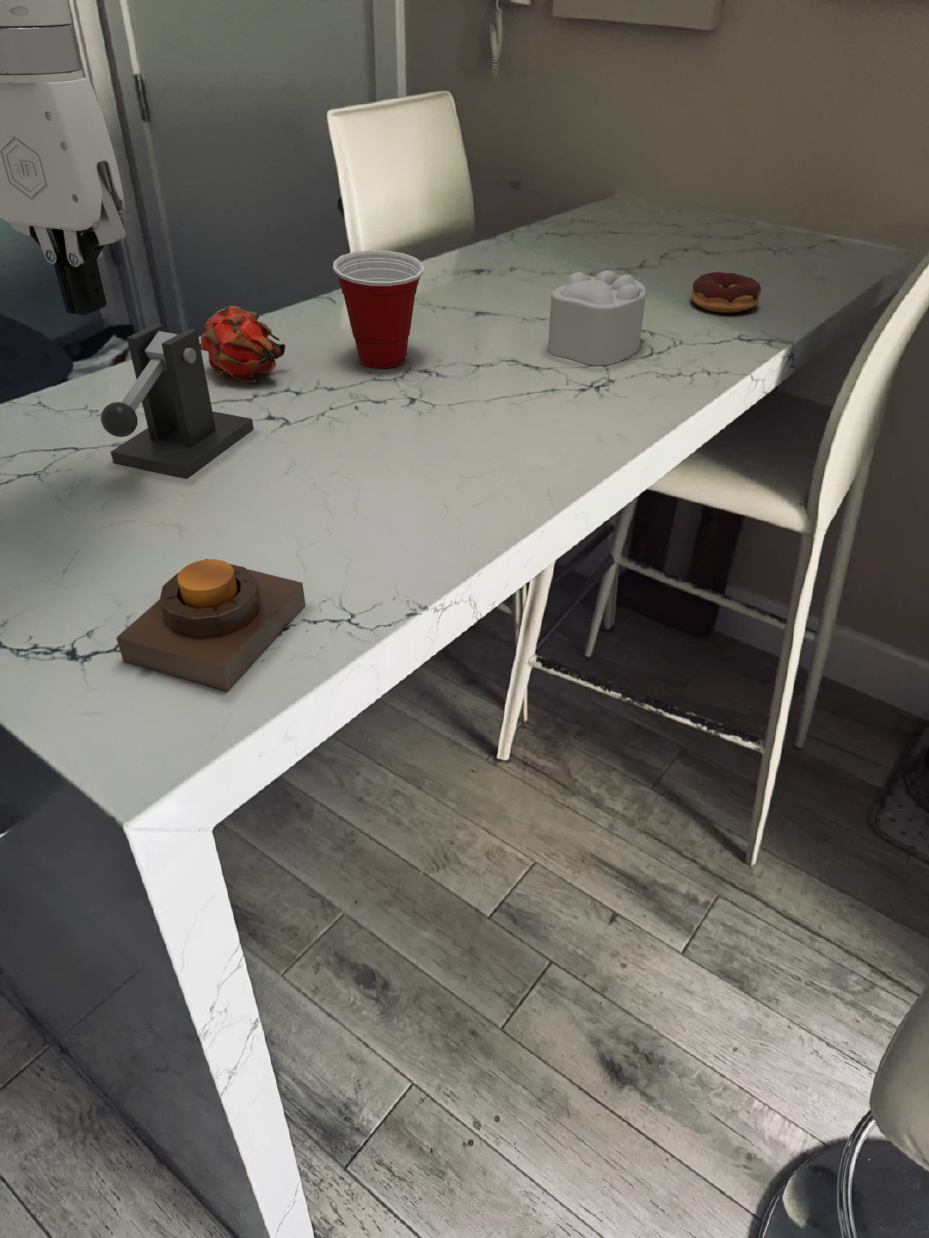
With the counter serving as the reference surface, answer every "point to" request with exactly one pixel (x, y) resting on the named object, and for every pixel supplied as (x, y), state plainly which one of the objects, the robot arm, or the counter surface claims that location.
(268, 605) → the control block
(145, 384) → the ball-topped lever switch
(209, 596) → the warm button
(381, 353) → the plastic cup
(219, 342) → the dragon fruit
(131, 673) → the counter surface
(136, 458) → the ball-topped lever switch base
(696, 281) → the donut
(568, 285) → the lumpy-topped squat cylinder
